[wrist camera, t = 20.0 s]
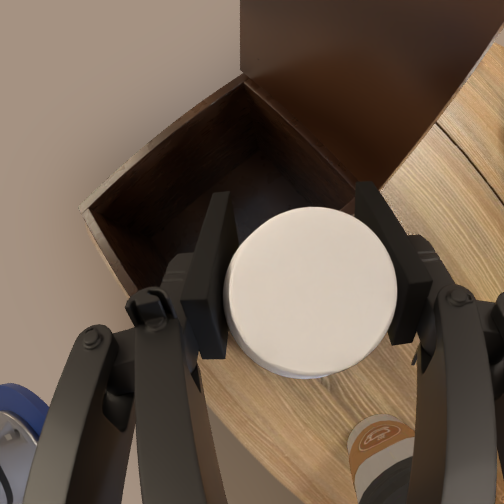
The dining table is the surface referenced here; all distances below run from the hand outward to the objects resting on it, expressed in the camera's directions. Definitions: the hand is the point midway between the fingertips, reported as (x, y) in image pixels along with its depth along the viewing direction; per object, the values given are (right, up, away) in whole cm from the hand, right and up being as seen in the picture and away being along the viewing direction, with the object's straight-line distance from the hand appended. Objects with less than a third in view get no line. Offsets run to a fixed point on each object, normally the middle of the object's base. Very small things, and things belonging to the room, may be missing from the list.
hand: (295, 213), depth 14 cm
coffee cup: (+11, -22, +14) cm, 28 cm away
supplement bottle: (+1, -4, +3) cm, 5 cm away
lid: (+2, +9, -2) cm, 10 cm away
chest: (-3, 0, +19) cm, 19 cm away
